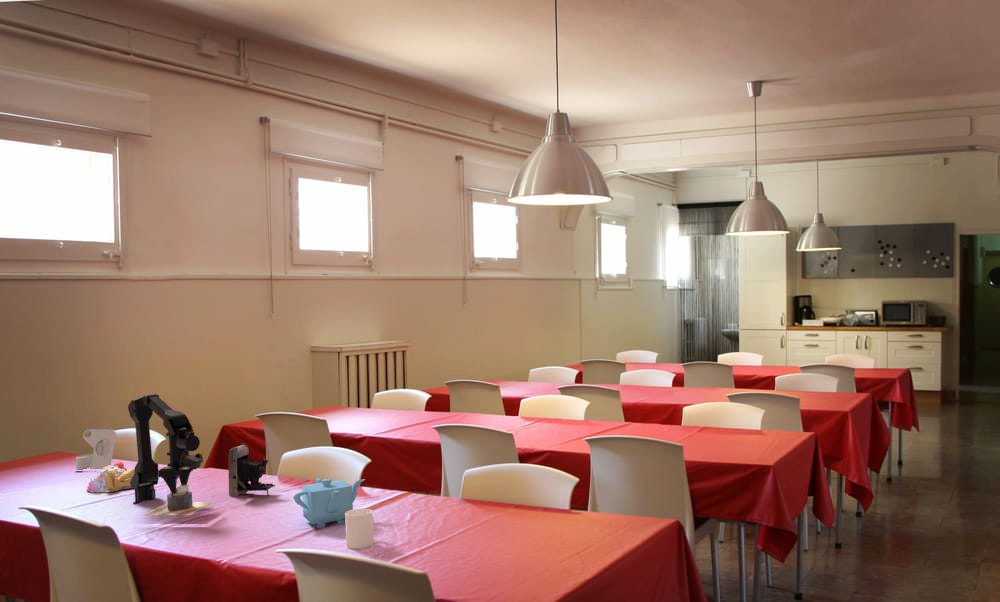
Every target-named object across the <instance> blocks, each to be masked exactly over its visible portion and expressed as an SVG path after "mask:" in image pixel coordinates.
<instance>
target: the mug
mask: <svg viewBox="0 0 1000 602" xmlns="http://www.w3.org/2000/svg"><path fill="white" fill-rule="evenodd" d="M344 520H345V524H344V525H345V542H346V547H347V548H348V549H351V550H363V549H368V548H371V547H372V546H373V544H374V528H375V527H374V526H375V520H374V515H373V510H372V509H369V508H355V509H354V508H353V510H350V511H347V512H346V513H345V519H344Z"/></svg>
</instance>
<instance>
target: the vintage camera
mask: <svg viewBox="0 0 1000 602" xmlns="http://www.w3.org/2000/svg"><path fill="white" fill-rule="evenodd" d="M261 461H262V462H259V461H256V460H254V459H249V447H248V445H247V444H246V443H241V445H239V446H232V447H231V448H230V449H229V451H228V495H229V497H238V496H239V495H245V494H247V493H248V492H256V491H259V492H261V491H265V492H266V494H267V497H270V496H269V490H270V489H271V488H274V487H275V486H276V484H273V483H262V482H261V481H260V479H261V478H262V477H263V475H264V473H265V469H266V468H265V467H264V466H266V465H267V466H268V462H269V460H268V459H267V458H262V459H261Z"/></svg>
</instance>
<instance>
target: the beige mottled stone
mask: <svg viewBox="0 0 1000 602" xmlns="http://www.w3.org/2000/svg"><path fill="white" fill-rule="evenodd" d="M188 491H189V492H190V490H189V484H188V483H187V484H181V483H180V484H177V485H176V493H175V494H173V496H182V495H186V492H188ZM170 493H172V492H171V490H170V489H169V494H170Z"/></svg>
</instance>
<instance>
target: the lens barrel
mask: <svg viewBox="0 0 1000 602" xmlns="http://www.w3.org/2000/svg"><path fill="white" fill-rule="evenodd" d="M166 501H167V502H166V503H167V504H168V510H170V511H179V510H185V509H189V508H191V507H192V502H193V492H192V491H190V490H189V491H188V492H186V495H182V496H173V494H172V493H170V492H169V493H168V494H167V495H166Z"/></svg>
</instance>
